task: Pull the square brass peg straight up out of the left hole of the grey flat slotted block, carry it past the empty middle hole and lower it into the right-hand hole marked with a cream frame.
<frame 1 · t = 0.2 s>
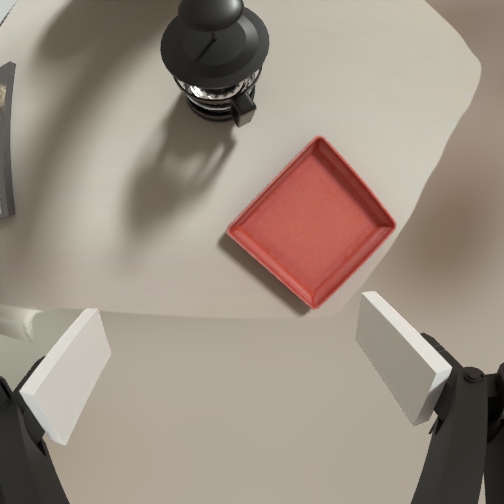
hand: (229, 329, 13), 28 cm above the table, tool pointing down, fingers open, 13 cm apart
french press: (221, 93, 35), on the table
red serving tray: (312, 222, 42), on the table
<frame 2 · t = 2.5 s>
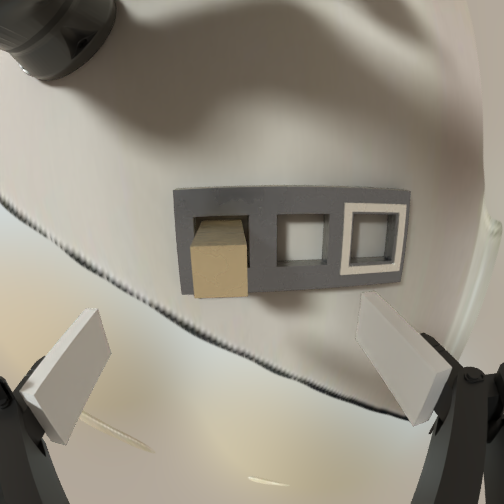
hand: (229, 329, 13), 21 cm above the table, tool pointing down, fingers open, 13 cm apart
grey flat slotted block: (299, 236, 34), on the table
peg: (222, 238, 34), resting in grey flat slotted block
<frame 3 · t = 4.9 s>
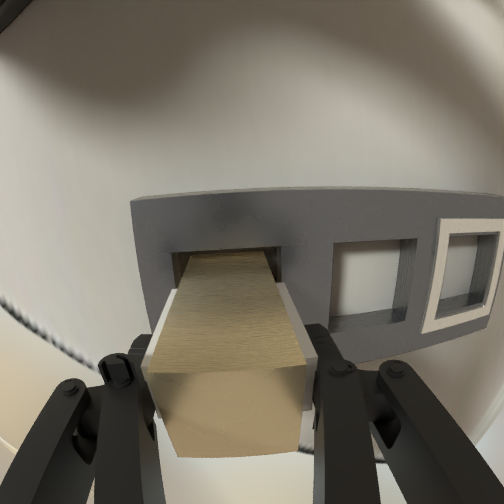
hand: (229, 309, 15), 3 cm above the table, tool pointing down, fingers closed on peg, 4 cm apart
grey flat slotted block: (362, 275, 19), on the table
peg: (229, 286, 18), resting in grey flat slotted block, touching gripper
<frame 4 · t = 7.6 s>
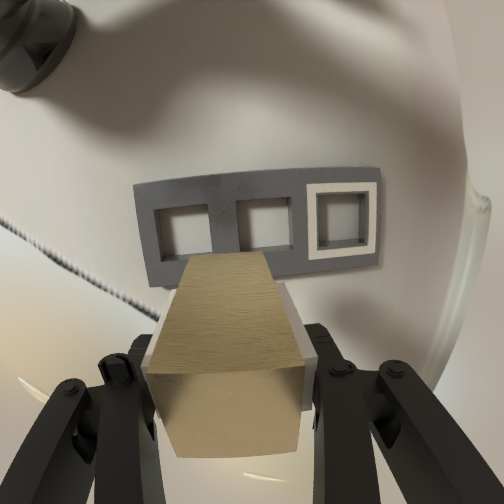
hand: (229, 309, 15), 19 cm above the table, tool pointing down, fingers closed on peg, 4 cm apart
grey flat slotted block: (263, 222, 34), on the table
peg: (228, 286, 18), point 16 cm above the table, touching gripper
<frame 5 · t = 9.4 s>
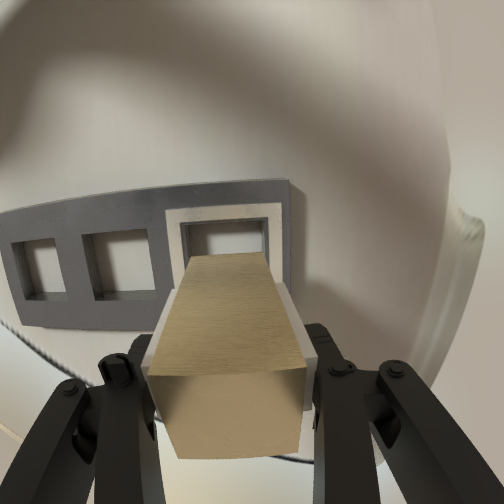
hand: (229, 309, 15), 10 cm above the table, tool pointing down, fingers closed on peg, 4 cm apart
grey flat slotted block: (125, 259, 24), on the table
peg: (229, 287, 18), point 6 cm above the table, touching gripper
when the fingers open (4 cm above the table, at t = 10.6 s): peg stays where it is, resting in grey flat slotted block.
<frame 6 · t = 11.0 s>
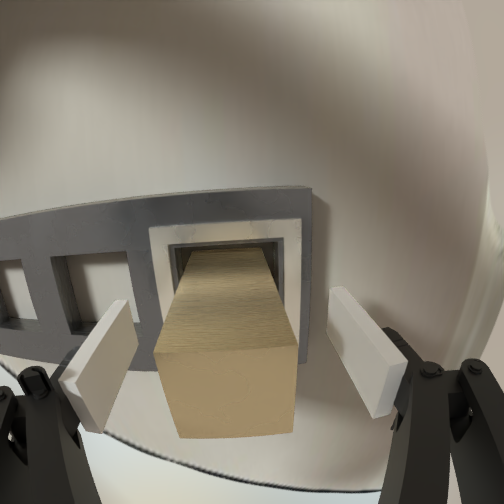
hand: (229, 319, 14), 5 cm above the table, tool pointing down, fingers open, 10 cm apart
grey flat slotted block: (105, 286, 19), on the table
peg: (228, 280, 19), resting in grey flat slotted block
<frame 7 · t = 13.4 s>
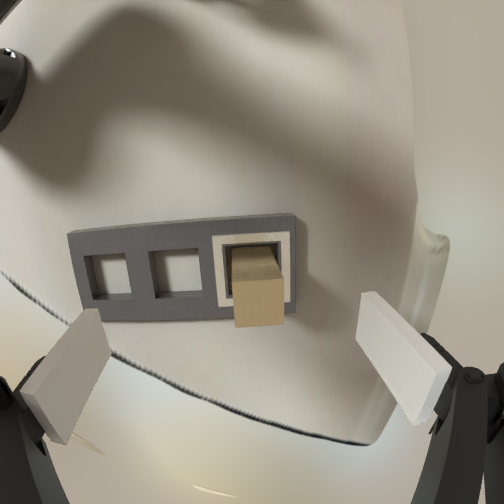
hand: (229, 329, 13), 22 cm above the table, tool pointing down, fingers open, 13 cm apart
grey flat slotted block: (178, 268, 35), on the table
peg: (251, 264, 36), resting in grey flat slotted block
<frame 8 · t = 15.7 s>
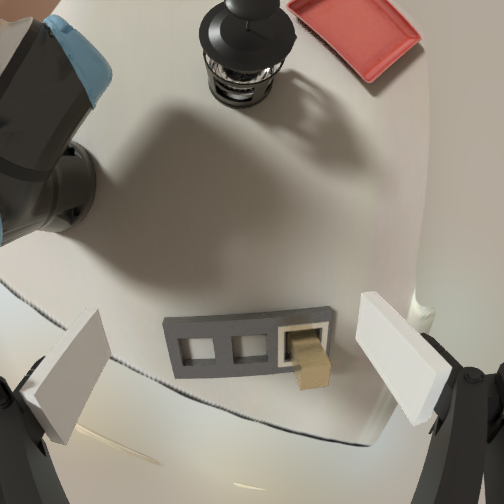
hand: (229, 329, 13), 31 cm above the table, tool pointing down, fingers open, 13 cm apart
french press: (243, 78, 37), on the table
grey flat slotted block: (249, 343, 49), on the table
red serving tray: (353, 26, 35), on the table
peg: (299, 338, 50), resting in grey flat slotted block
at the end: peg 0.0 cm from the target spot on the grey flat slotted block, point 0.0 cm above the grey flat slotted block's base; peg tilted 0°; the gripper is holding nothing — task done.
